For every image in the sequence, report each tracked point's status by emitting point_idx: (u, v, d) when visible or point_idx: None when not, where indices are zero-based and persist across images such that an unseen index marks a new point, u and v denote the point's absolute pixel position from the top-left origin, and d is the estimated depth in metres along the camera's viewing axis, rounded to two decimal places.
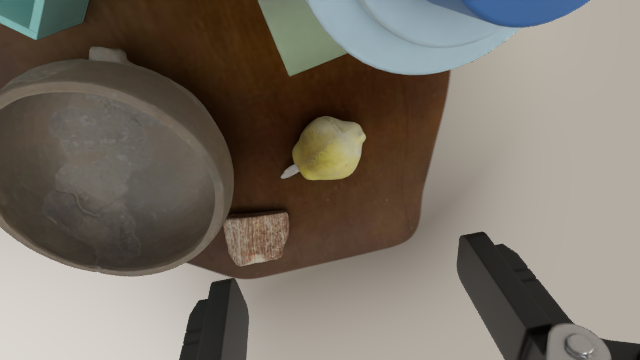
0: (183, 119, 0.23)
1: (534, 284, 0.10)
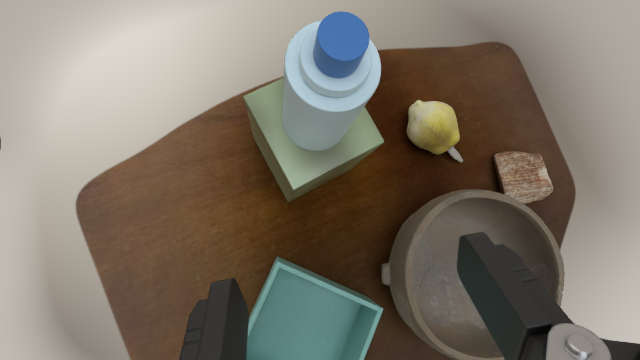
0: (421, 217, 0.35)
1: (534, 284, 0.10)
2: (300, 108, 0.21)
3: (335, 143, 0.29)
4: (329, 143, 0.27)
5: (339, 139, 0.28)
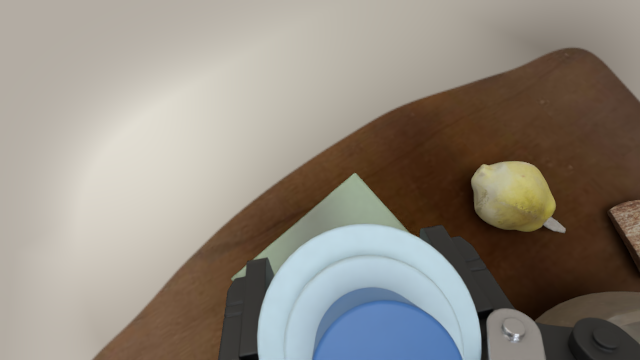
0: None
1: (484, 273, 0.11)
2: None
3: None
4: None
5: None
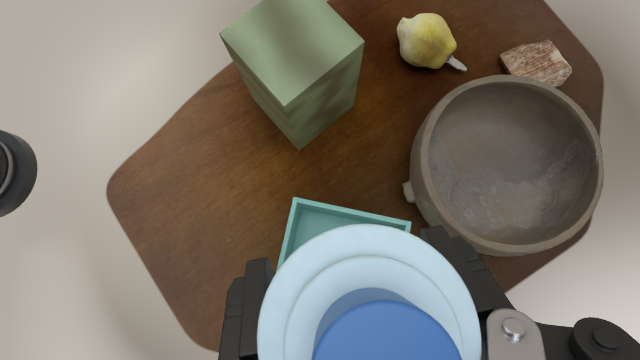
0: (427, 118, 0.33)
1: (484, 273, 0.11)
2: None
3: None
4: None
5: None
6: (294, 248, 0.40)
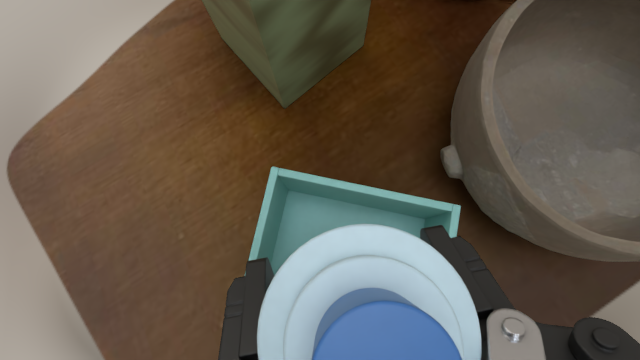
0: (488, 36, 0.20)
1: (484, 273, 0.11)
2: None
3: None
4: None
5: None
6: (277, 248, 0.27)
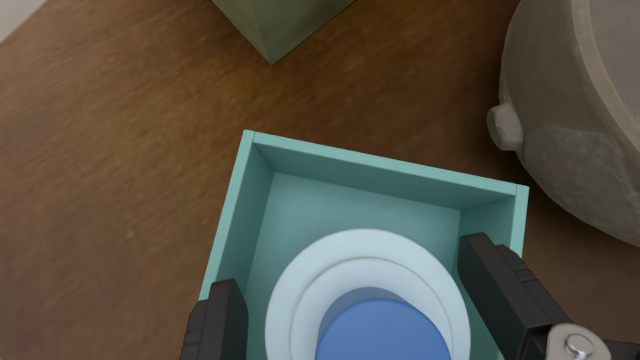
0: None
1: (534, 284, 0.10)
2: None
3: None
4: None
5: None
6: (258, 250, 0.20)
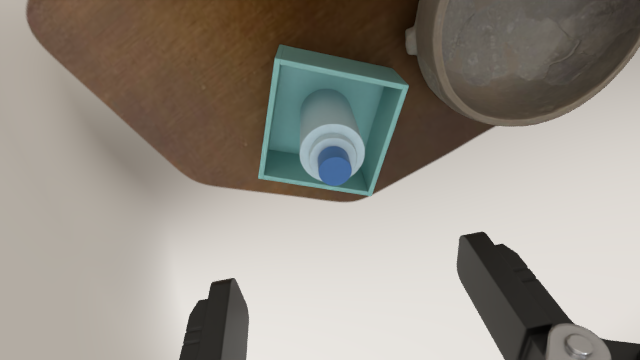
0: None
1: (534, 284, 0.10)
2: None
3: None
4: None
5: None
6: (278, 96, 0.37)
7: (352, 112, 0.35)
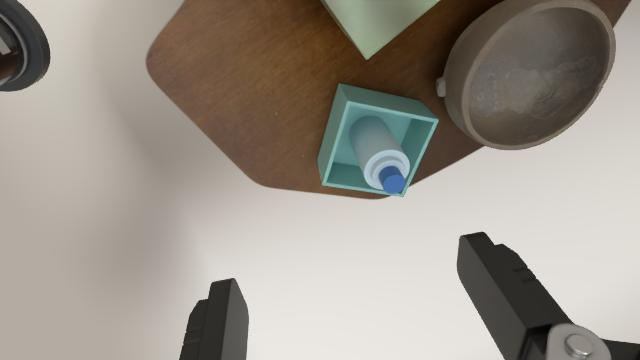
0: (482, 41, 0.35)
1: (534, 284, 0.10)
2: None
3: None
4: None
5: None
6: None
7: None
